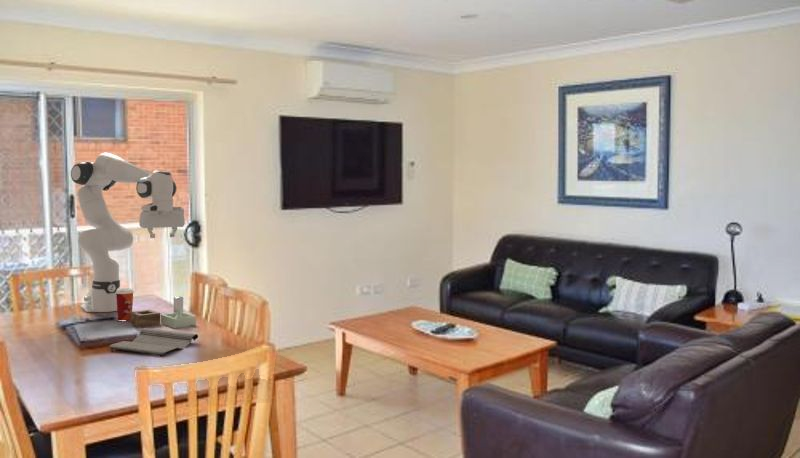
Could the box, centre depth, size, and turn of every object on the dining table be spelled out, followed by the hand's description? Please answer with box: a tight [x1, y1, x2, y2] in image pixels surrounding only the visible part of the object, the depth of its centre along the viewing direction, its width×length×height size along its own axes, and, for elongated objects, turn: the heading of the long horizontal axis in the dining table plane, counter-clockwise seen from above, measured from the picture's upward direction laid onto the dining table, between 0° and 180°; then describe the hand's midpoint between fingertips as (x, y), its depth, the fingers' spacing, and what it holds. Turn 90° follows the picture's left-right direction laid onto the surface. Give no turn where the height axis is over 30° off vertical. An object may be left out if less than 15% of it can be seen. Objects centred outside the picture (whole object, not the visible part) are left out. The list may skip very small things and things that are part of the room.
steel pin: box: [173, 296, 184, 319], centre depth 291 cm, size 4×4×11 cm
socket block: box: [129, 309, 161, 328], centre depth 290 cm, size 9×9×5 cm
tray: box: [160, 311, 197, 329], centre depth 292 cm, size 12×10×4 cm
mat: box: [108, 327, 199, 357], centre depth 253 cm, size 23×24×5 cm
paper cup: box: [115, 287, 135, 322], centre depth 296 cm, size 8×8×14 cm
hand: (162, 237), depth 299 cm, fingers open, 8 cm apart
